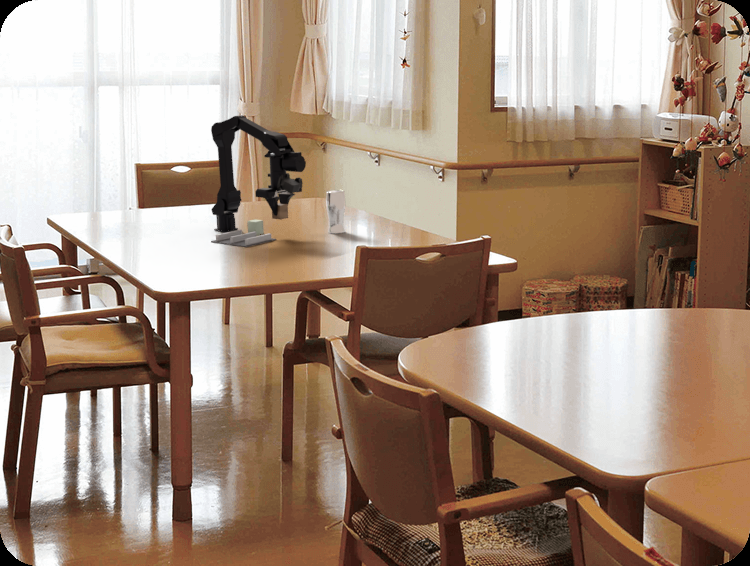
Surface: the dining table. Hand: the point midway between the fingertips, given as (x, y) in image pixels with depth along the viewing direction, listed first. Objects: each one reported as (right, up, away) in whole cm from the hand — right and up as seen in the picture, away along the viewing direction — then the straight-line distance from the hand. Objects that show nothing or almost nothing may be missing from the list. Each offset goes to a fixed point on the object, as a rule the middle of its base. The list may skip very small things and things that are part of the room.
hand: (280, 214), depth 337 cm
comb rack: (-12, -10, -5) cm, 16 cm away
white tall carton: (+20, -6, +8) cm, 22 cm away
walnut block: (0, -1, 0) cm, 1 cm away
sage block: (-10, -7, +8) cm, 14 cm away
